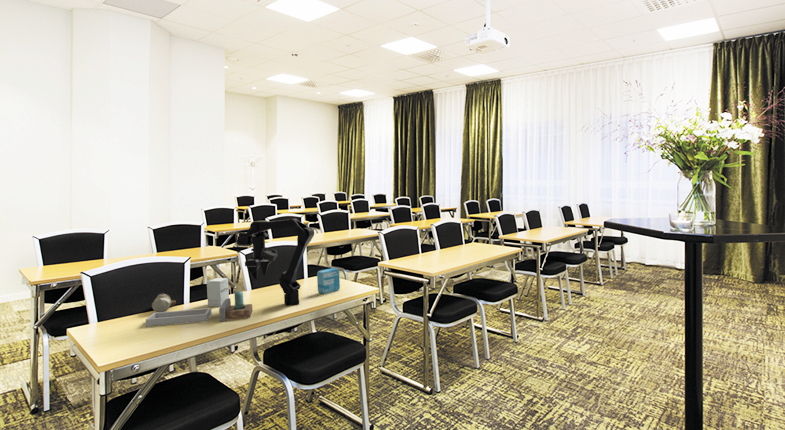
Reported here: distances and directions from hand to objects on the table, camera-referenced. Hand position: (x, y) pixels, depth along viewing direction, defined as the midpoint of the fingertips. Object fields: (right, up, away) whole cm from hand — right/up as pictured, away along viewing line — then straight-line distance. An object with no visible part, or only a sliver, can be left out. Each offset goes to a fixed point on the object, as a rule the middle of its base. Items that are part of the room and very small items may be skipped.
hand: (260, 277), depth 208 cm
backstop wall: (-9, -15, -20) cm, 26 cm away
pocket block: (-3, -15, -19) cm, 24 cm away
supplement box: (-21, -14, 0) cm, 25 cm away
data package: (+31, -11, +20) cm, 38 cm away
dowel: (-3, -14, -19) cm, 24 cm away
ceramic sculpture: (-45, -15, -6) cm, 48 cm away
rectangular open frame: (-28, -16, -24) cm, 40 cm away
